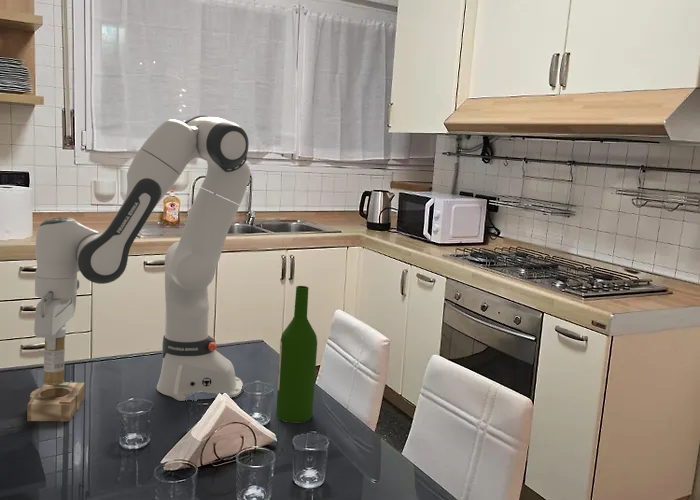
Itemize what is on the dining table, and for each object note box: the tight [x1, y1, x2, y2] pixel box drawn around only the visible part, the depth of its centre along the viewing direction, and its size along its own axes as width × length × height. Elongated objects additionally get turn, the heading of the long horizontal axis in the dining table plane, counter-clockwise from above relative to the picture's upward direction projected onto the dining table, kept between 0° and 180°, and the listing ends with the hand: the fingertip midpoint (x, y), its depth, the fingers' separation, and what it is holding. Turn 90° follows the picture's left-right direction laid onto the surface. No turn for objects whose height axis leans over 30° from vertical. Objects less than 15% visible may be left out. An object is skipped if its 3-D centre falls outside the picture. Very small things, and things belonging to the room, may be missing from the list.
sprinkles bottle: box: [43, 326, 67, 386], centre depth 153 cm, size 5×5×13 cm
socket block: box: [26, 381, 86, 422], centre depth 154 cm, size 10×14×4 cm
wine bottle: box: [275, 285, 318, 423], centre depth 158 cm, size 9×9×32 cm
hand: (55, 345), depth 152 cm, fingers closed on sprinkles bottle, 4 cm apart
